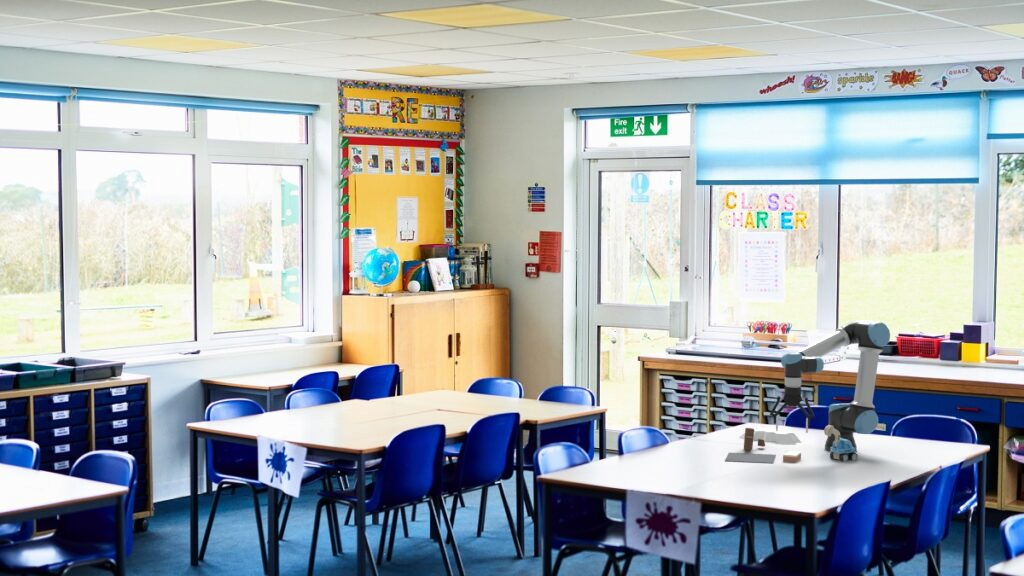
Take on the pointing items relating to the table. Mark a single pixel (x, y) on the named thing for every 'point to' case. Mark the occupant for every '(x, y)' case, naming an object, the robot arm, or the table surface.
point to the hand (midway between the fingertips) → (791, 431)
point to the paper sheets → (774, 436)
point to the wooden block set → (751, 439)
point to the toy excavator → (840, 446)
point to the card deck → (791, 456)
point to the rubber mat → (750, 458)
